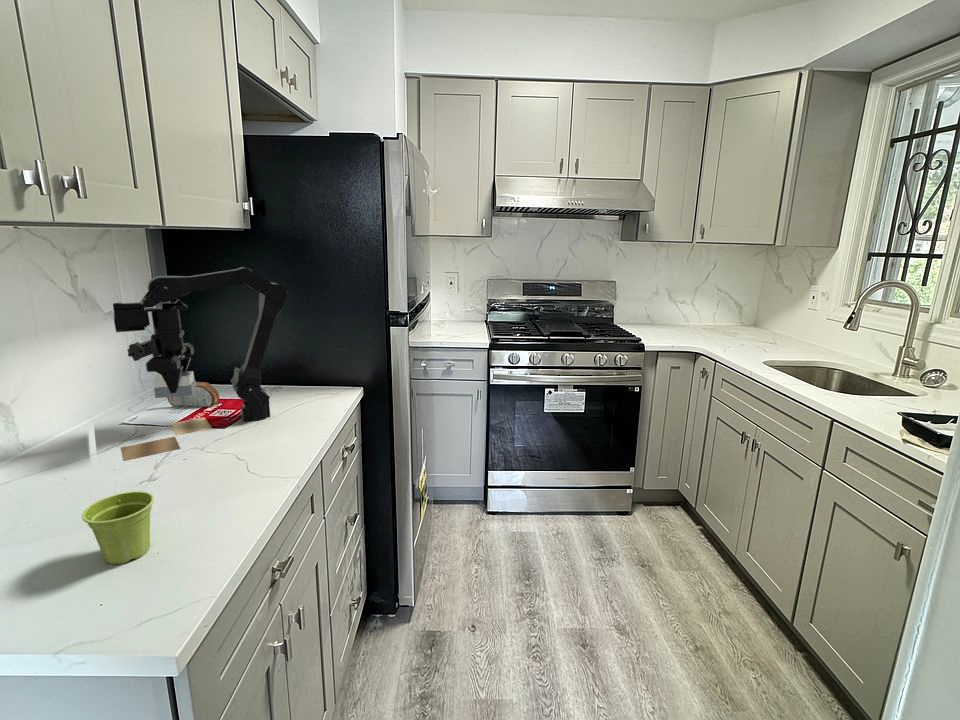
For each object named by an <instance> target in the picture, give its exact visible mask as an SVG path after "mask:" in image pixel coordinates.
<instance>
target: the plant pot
mask: <svg viewBox="0 0 960 720" xmlns="http://www.w3.org/2000/svg"><path fill="white" fill-rule="evenodd" d="M154 501H155V497H154V495H153V493H150V492H148V491H144V490H143V491H139V490H138V491H134V490H133V491H125V492H121V493H116V494H113V495H109V496H107V497H104V498H102V499H99V500H98V501H95V502H94V503H92V504H91V505H89V506H88V507H86V508H85V509H84V510H83V512H82V513H81V519H82V521H83V522H85V523H87V526H88V527H89V528H90V529H91V531H92V532H93V535H94V538H95V540H96V542H97V544H98V546H99V547H98V548H99V550H100V552H101V555H102V557H103V558H104V559H103V560H104V561H105V562H106V563H107V564H110V565H118V564H125V563H128V562H129V561H131V560H132V559H138V558H141V557H142V556H144V555H145V554H146V553H147V552H148V551H149V549H150V548H151V511H152V506H153V503H154Z"/></svg>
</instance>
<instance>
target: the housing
mask: <svg viewBox="0 0 960 720" xmlns="http://www.w3.org/2000/svg"><path fill="white" fill-rule="evenodd" d="M194 373H195V372H194V370H191V371H186V372H181V376H180V380H179V383H178V387H177V391H176V393H170V391H169V389H168V387H167V385H166V383H165V381H164V379H163V377H162V375H161V374H159V373H157V374H156V375H155V376H154V377H153V383H154V388H153V390H154V391H153V392H154V397H155V399H158V398H159V399H161V398H167V397H176V396H191V395H193V394H194V393H195V391H196V390H197V388H196V382H197V380H196V379H195V374H194Z"/></svg>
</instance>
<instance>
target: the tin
mask: <svg viewBox="0 0 960 720" xmlns="http://www.w3.org/2000/svg"><path fill="white" fill-rule="evenodd" d="M196 388H197V390H196V391H195V393H194V394H193V395H191V396H176V397H166V398H167V400H168V403H169V404H170V405H171V406H172V407H179V406H190V407H209V408H212V407H215V406H216V405H218V404H219V401H220V394H219V392H218V390H217V389H216V387H215V386H213V385H212V384H210V383H209V382H206V381H205V382H203V381H201V382H200V381H196Z"/></svg>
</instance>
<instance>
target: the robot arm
mask: <svg viewBox="0 0 960 720" xmlns="http://www.w3.org/2000/svg"><path fill="white" fill-rule="evenodd" d="M242 284H244V285H246V286H247V287H249V288H250V289H252V290H254V291H255V292H257V294H259V296H258V298H259V299H258V315H257V318H256V319H257V320H256V322H255V325H254V329H253V333H252V336H251V340H250V342H249V346H248V350H247V353H246V357H245V359H244V362H243V364H242V365H241V367H240V368H239V367H234V369H233V376H232V378H231V379H230V382H231V384H232V386H231V387H232V389H233V391H234V392H235V394H236V395H237V396H238V398H239V399H241V400H243V401H241V405H242V406H241V407H240V414H241V415H240V417H241V421H242V422H244V423H247V422H259V421H264V420H266V419H268V418H271V412H270V411H271V408H270V396H269V394H268V393H267V392H266V391H265V390H264V389H263V388H262V387H261V385H262V365H263V363H264V359H265V355H266V352H267V347H268V345H269V341H270V339H271V338H270V337H271V335H272V332H273V328H274V324H275V321H276V319H277V317H278V316H279V314H280V313H281V312H282V311H283V309H284V307H285V305H286V303H287V301H288V298H289V292H288V291H287V289H286V287H284V286H283V285H281V284H279V283H277V282H271V281H268V280H266V278H264V277H261V276H260V275H259V274H258V273H255V272H254V271H253V270H251V269H250V268H248V267H244V266H241V267H238V268H235V269H234V268H233V269H227V270H221V271H214V272H209V273H203V274H202V273H201V274H194V275H186V276H185V275H156V276H153V277H152V278H151V279H150V280H149V281H148V282H147V292H146V293H145V295H144V296H143V297H141V300H140V302H113V303H112V306H113V315H114V316H113V321H114V322H113V323H114V328H115V333H126V332H127V333H128V332H138V331H139V332H142V331H146V329H145V328H148V327H150V326H151V324H150V318H149V312H150V313H151V319H152V320H151V321H152V326H153V332H154V333H153V334H151V336H150V339H149V340H145V341H143V342H139V341H136V342H134V343H131V344H128V349H127V350H126V351H127V356H128V357H130V358H132V359H133V361H134V362H137V361H140V359H143V358H145V357H148V356H150V355H152V357H151V358H150V359H149V360H148V361H147V362H146V363H145V367H146V372H148V373H154V372H155V373H157V374H161V375H162V377H163V379H164V381H165V383H166V385H167V387H168V389H169V391H170V393H176V391H177V387H178V383H179V380H180V376H181V372H187V370H188V367H189V365H190V363H191V360H192V356H193V354H195V351H194V350H195V349H194V346H193V345H192V344H191V343H190V342H185V343H184V339H183V338H184V337H183V336H184V335H185V330H184V329H183V330H182V323H181V315H180V311H183V310H188V309H189V307H188V305H187V304H185V303H183V302H182V301H181V299H180V298H183V297H184V296H187V295H190V294H192V293H195V292H201V291H205V290H206V291H207V290H212V289H219V288H225V287H231V286H237V285H242ZM174 300H176V301H174ZM171 301H174V302H171ZM160 303H161V306H157V305H159V304H160ZM185 354H188V356H185Z"/></svg>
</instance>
